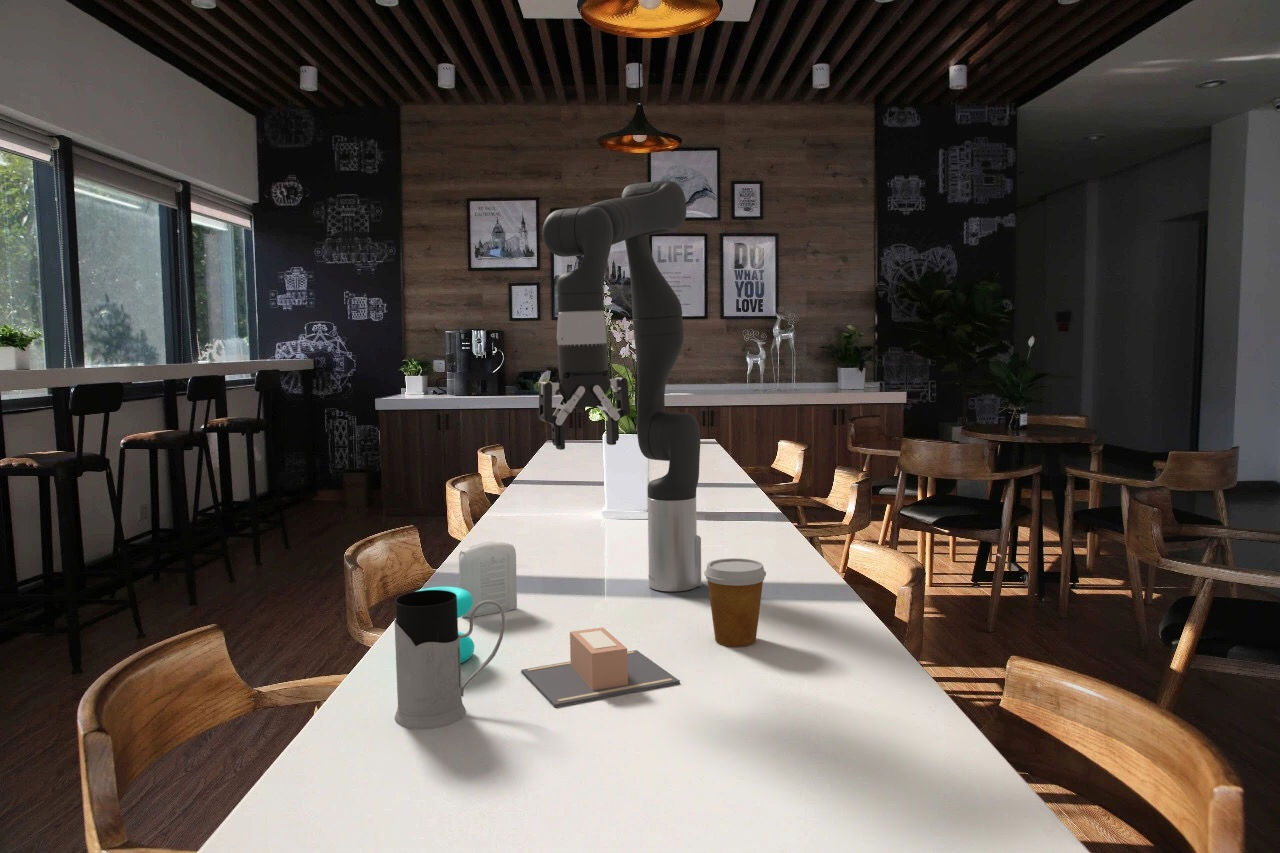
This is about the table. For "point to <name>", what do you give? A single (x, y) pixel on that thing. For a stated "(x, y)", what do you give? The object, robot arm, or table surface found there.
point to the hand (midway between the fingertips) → (586, 446)
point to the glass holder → (431, 658)
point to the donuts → (462, 608)
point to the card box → (598, 658)
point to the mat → (570, 688)
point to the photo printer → (489, 576)
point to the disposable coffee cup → (735, 599)
